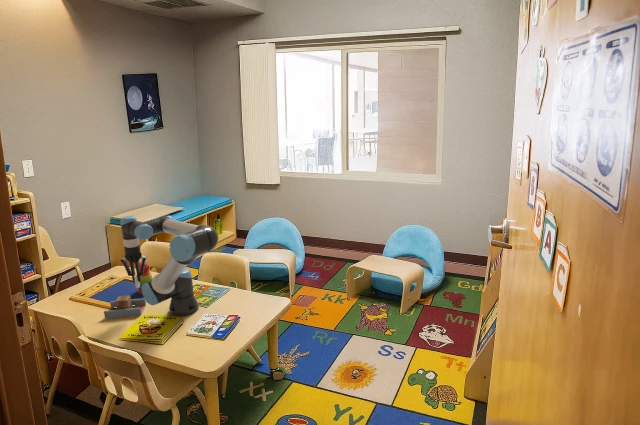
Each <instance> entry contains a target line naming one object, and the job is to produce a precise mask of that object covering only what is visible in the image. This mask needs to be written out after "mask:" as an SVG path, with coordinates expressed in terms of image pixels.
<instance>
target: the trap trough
mask: <svg viewBox="0 0 640 425" xmlns="http://www.w3.org/2000/svg"><path fill="white" fill-rule="evenodd" d="M131 303H132V305H135V307H132V308H129V309H118V310H117V309H113V308H114V307H116V300H111V301H110V309H107V310H103V314H104V319H105V320H106V319H107V320H108V319H116V318H118V319H119V318H129V317H139V316H142V314H143V312H144V310H145V308H146V305H147V301H146V300H145V298H144V297H143V298H133V299H132V298H131Z"/></svg>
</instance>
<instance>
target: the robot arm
mask: <svg viewBox="0 0 640 425" xmlns="http://www.w3.org/2000/svg"><path fill="white" fill-rule="evenodd" d="M137 221H138V220H137V218H136V216H135V215H125V216H122V217H121V218H120V229H121V234H122V241H123V247H124V257H122V258H121V259H120V262H121V263H122V264H123V267H124V269H125V271H126V273H127V276H128V277H131V278H132V283H134V284H135V289H138V288H139V287H140V283H139V282H140V281H141V276H140V275H143V273H144V266H145V263H146V260H147V258H148V256H145V255H143V254H142V252H141V245H140V240H149V239H150V238H152V236H154V235H157V234H161V233H165V234H168V235H172V236H174V237H173V238H171V240H170V242H169V247H170V248H169V253H170V257H168V259H167V261H166V262H165V264H164V266H163V267H162V269H161V270H160V272H159V273H157V274H155V275H154V276H152V280H151V281H150V282H148V283H145V284H144V285H143V286H142V293H143V294H142V296H143V298H145V301H146V304H148V305H151V306H156V305H158V304H161V303H162V302H165V301H167V300H169V299H170V303H169V306H168V309H169V310H168V311H169V314H170V315H172V316H176V317H184V316H189V315H192V314H194V313H196V312H197V311H198V310H199V309H200V308H199V302H198V300H197V298H196V296H195V294H194V285H193V276H192V271H191V270H190V269H189V268H187V266H189V265H191V264H193V263H194V262H195V261H196V259H197V258H198V257H199V256H201V255H203V254H206V253H209V252H211V251H213V250H214V249H215V248H216V247H217V246H218V243H219V234H218V232H217V230H216V229H215V228H213V227H212V226H210V225H207V224H198V225H197V224H193V223H189V222H185V221H184V222H183V221H180V220H176V219H174V217H172V216H171V215H164V216H161V217H157V218H153V219H151V220H147V221H143V222H137ZM140 260H141V262H142V265H141V272H140V267H139V262H140Z"/></svg>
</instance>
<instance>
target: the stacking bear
mask: <svg viewBox="0 0 640 425" xmlns="http://www.w3.org/2000/svg"><path fill="white" fill-rule="evenodd" d="M141 265H142V261H139V267H140V272H141ZM150 268H151V265H150V264H148V262H145V266H144V273H143V275H140V276H141V281H140V282H139V283H140V287H139V288H137V293H138V294H142V295H143V293H142V286H143V285H144V284H145V283H148V282H150V281H151V280H152V278H153V275H152V272H151V271H150Z"/></svg>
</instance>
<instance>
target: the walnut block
mask: <svg viewBox="0 0 640 425" xmlns="http://www.w3.org/2000/svg"><path fill="white" fill-rule="evenodd" d="M131 299H132V298H131V295H129V294H128V295H119V296H118V297H117V298H116V300H115V301H116V307H117V308H116V310H118V309H129V308H133V307H132V303H131Z"/></svg>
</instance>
